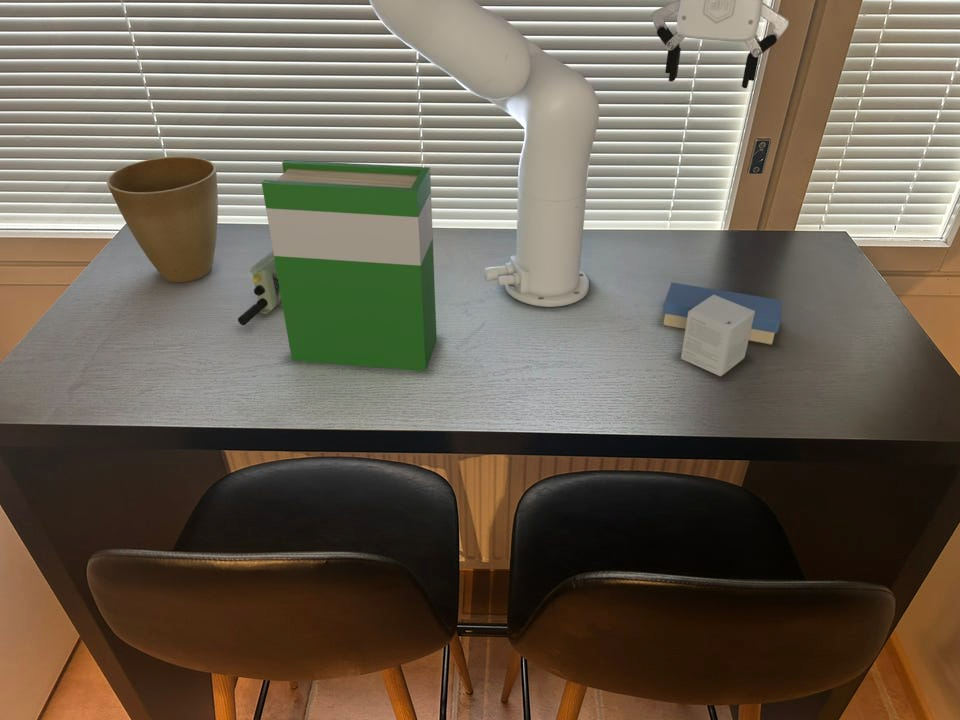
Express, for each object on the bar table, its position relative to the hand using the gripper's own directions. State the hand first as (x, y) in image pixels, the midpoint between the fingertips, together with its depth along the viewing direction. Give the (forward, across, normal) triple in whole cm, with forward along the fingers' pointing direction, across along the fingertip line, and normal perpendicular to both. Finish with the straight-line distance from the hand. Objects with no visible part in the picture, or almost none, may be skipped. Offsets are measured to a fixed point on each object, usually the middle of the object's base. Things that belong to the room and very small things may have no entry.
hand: (708, 82), depth 103 cm
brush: (+28, +8, -15) cm, 33 cm away
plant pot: (+28, -72, -28) cm, 82 cm away
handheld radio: (+28, -54, -27) cm, 66 cm away
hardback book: (+28, -35, -38) cm, 59 cm away
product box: (+28, +8, -24) cm, 38 cm away
